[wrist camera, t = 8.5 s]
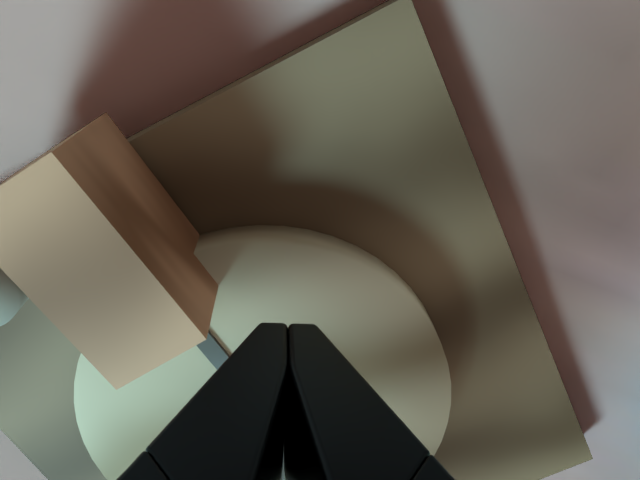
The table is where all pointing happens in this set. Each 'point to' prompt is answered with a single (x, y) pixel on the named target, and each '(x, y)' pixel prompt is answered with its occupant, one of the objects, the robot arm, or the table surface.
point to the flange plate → (193, 295)
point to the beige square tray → (346, 224)
